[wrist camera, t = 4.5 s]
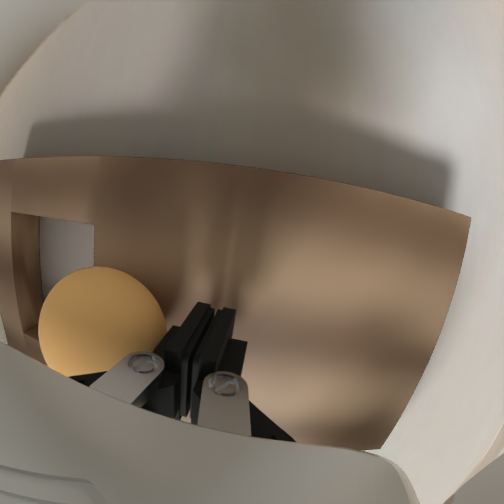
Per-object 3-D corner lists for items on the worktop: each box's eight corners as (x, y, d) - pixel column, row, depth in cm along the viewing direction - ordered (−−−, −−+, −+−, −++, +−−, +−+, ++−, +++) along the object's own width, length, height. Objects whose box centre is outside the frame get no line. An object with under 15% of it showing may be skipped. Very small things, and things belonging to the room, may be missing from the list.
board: (371, 422, 17) (380, 448, 14) (31, 342, 19) (11, 356, 16) (442, 212, 14) (471, 217, 11) (21, 161, 16) (-5, 160, 13)
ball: (199, 386, 12) (105, 452, 7) (121, 352, 15) (39, 386, 10) (193, 264, 12) (61, 295, 6) (110, 253, 14) (12, 269, 9)
